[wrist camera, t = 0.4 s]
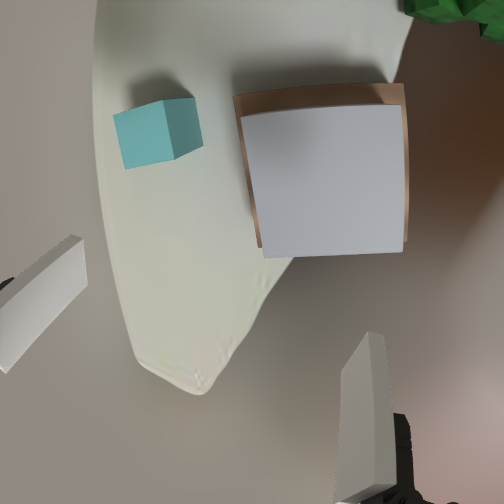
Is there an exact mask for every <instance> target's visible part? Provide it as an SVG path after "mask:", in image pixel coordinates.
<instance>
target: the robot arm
mask: <svg viewBox="0 0 504 504" xmlns="http://www.w3.org/2000/svg"><path fill="white" fill-rule="evenodd" d="M87 285H88V283H87V274H86V265H85V254H84V242H83V238H80V237H77V236H75V235H72V234H71V235H70V236H69V237H67V238H66V239H64V240H63V241H62V242H60V243H59V244H58V245H56V246H55V247H54V248H52V249H51V250H50V251H48V252H47V253H46V254H45V255H43V256H42V257H41V258H39V259H38V260H37V261H36V262H34V263H33V264H32V265H31V266H29V267H28V268H27V269H26V270H24V271H23V272H22V273H21V274H20V275H18V276H17V277H16V278H13V277H12V278H10V279H8V280H5V281H3V282H2V283H1V284H0V369H1V370H2V371H3V372H5V373H7V372H8V371H9V370H10V369H11V367H12V366H13V365H14V364H15V362H16V361H17V360H18V359H19V358H20V357H21V356H22V354H23V353H24V352H25V351H26V350H27V349H28V347H29V346H30V345H31V344H32V343H33V342H34V341H35V340H36V338H37V337H38V336H39V335H40V334H41V333H42V332H43V331H44V330H45V329H46V328H47V327H48V325H49V324H50V323H51V322H52V321H53V320H54V319H55V318H56V317H57V316H58V315H59V314H60V313H61V312H62V311H63V310H64V308H65V307H66V306H67V305H68V304H69V303H70V302H71V301H72V300H73V299H74V298H75V297H76V296H77V295H78V294H79V293H80V292H81V291H82V290H83V289H84V288H85V287H86V286H87ZM340 404H341V405H340V406H341V407H340V428H339V444H338V458H337V459H338V460H337V471H336V482H335V492H334V501H333V504H358V503H361V504H434V503H431V502H427V501H425V500H423V497H422V495H421V494H420V493H419V492H418V491H417V490H415V487H414V475H413V457H412V450H411V448H412V443H411V441H410V439H411V432H410V425H409V423H408V421H407V419H406V417H405V415H404V414H397V413H393V406H392V396H391V387H390V379H389V371H388V363H387V356H386V349H385V342H384V336H383V335H380V334H376V333H372V332H367V334H366V335H365V336H364V338H363V340H362V341H361V343H360V344H359V346H358V347H357V349H356V350H355V352H354V353H353V355H352V356H351V358H350V359H349V361H348V362H347V364H346V365H345V366H344V368H343V369H342V371H341V403H340ZM447 504H458V503H456V502H451V503H447Z"/></svg>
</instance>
